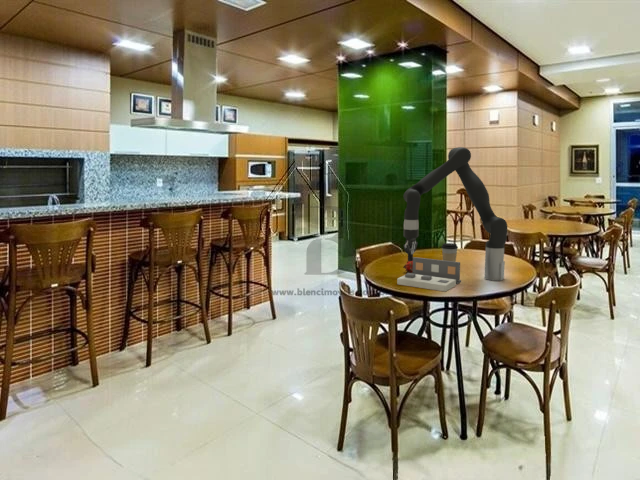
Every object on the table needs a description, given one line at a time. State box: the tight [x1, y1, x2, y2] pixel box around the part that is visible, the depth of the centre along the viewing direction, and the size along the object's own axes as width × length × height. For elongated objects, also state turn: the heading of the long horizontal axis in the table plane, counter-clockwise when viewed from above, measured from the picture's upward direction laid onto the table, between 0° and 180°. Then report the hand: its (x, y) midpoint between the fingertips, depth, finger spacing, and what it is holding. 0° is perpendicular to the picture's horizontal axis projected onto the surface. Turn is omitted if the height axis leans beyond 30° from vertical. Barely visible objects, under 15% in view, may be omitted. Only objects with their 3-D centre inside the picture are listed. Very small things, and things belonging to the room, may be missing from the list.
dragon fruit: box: [402, 260, 413, 273], centre depth 257 cm, size 8×8×12 cm
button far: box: [404, 272, 415, 278], centre depth 235 cm, size 4×4×3 cm
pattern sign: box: [412, 256, 462, 285], centre depth 239 cm, size 26×6×11 cm, turn 54°
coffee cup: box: [440, 242, 459, 262], centre depth 262 cm, size 9×9×15 cm
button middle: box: [421, 275, 432, 281], centre depth 230 cm, size 4×4×3 cm
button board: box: [396, 274, 457, 292], centre depth 230 cm, size 26×14×3 cm, turn 54°
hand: (410, 260), depth 234 cm, fingers closed
